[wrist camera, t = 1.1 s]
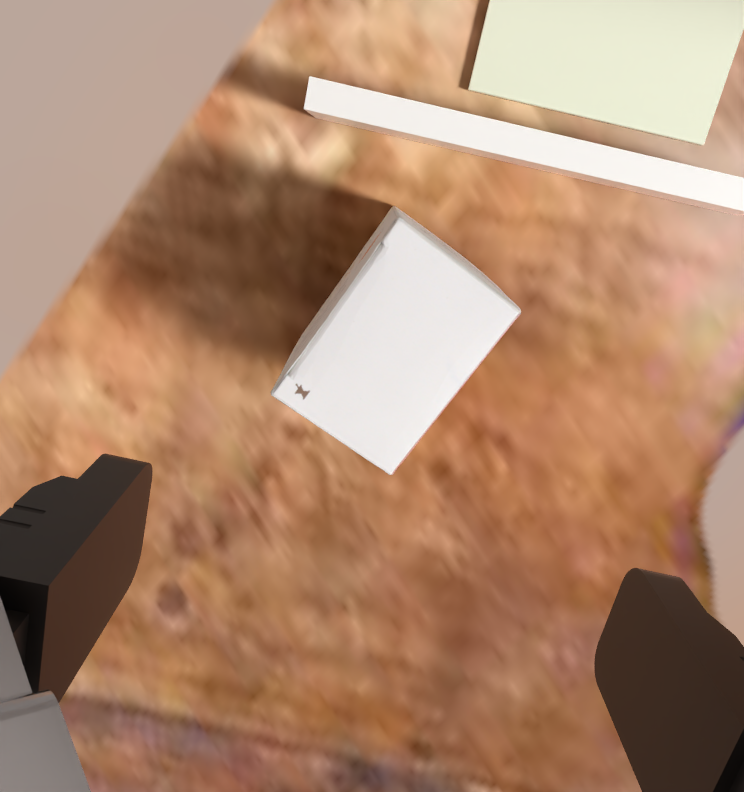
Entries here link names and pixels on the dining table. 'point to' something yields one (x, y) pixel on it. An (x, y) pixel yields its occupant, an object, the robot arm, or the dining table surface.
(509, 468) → the dining table surface
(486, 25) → the sage mat
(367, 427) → the small box
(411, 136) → the white wall
